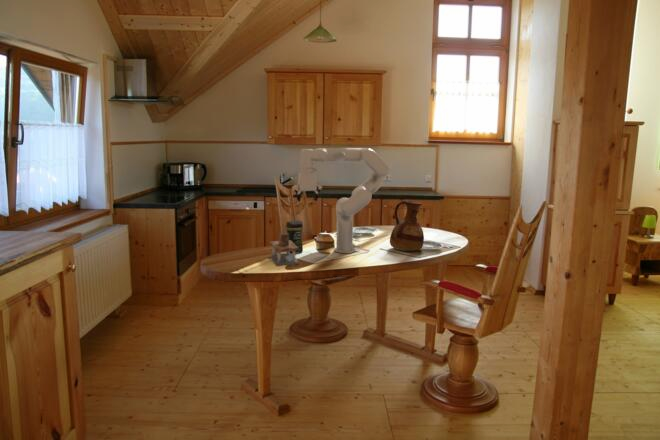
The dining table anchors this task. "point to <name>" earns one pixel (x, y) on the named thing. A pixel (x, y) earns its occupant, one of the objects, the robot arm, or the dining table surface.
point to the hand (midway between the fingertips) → (307, 200)
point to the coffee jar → (295, 233)
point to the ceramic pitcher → (407, 229)
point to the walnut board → (283, 244)
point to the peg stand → (284, 258)
